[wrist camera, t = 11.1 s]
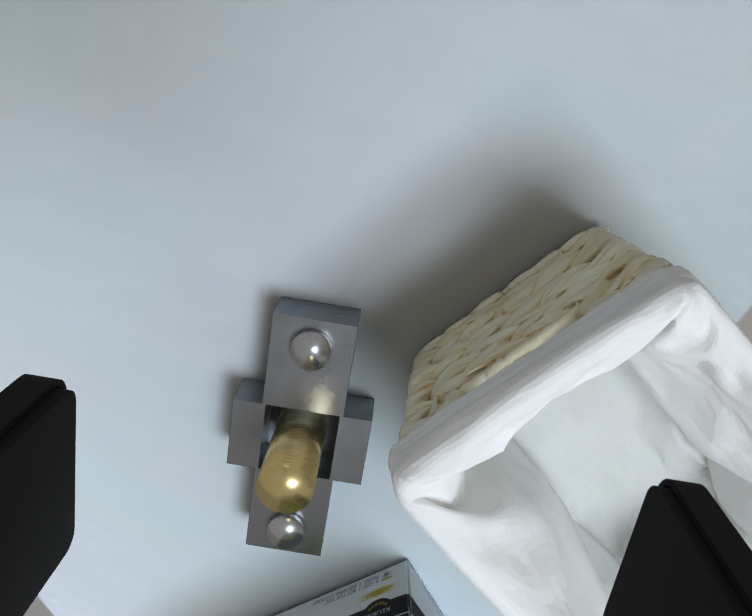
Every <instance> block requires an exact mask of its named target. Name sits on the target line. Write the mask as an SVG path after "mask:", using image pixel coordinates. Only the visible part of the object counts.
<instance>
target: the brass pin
mask: <svg viewBox="0 0 752 616" xmlns="http://www.w3.org/2000/svg"><path fill="white" fill-rule="evenodd" d="M327 425H328V414H322V413H316V412H309V411H303V410H297V409H291V408H285V407H283V409H282V411H281V414H280V417H279V420H278V422H277V425H276V428H275V431H274V434H273V436H272V439H271V442H270V445H269V448H268V451H267V453H266V456H265V459H264V462H263V465H262V467H261V470H260V473H259V476H258V479H257V481H256V493H257V496H258V498H259V500H260V501H261V502H262V504H263V505H264V506H266V507H267V508H269V509H270V510H272V511H275V512H278V513H283V514H290V513H295V512H298V511H300V510H302V509H304V508H305V507H306V506H307V505H308V504H309V503H310V501H311V499H312V496H313V491H314V487H315V482H316V477H317V473H318V468H319V463H320V458H321V454H322V449H323V444H324V440H325V435H326V430H327Z"/></svg>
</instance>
